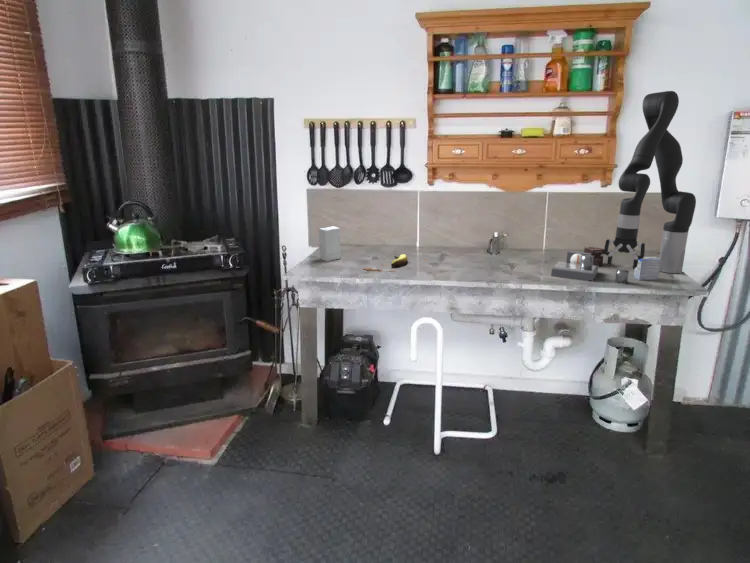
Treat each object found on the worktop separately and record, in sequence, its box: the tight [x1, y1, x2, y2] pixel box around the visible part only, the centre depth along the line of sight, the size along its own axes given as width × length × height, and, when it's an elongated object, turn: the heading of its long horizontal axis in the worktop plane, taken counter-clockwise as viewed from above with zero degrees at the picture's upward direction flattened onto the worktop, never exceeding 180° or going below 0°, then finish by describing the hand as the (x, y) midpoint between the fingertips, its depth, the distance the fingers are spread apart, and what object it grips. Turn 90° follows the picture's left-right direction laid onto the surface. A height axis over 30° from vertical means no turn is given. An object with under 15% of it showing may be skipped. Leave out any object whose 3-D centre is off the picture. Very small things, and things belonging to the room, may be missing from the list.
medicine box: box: [633, 256, 661, 281], centre depth 211 cm, size 8×4×9 cm, turn 92°
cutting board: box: [363, 253, 428, 273], centre depth 238 cm, size 35×27×4 cm
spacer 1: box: [580, 255, 593, 269], centre depth 213 cm, size 4×4×5 cm
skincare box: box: [318, 225, 342, 262], centre depth 243 cm, size 8×6×15 cm
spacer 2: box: [614, 268, 630, 284], centre depth 207 cm, size 4×4×5 cm
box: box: [583, 246, 605, 267], centre depth 233 cm, size 6×6×7 cm
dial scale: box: [550, 250, 599, 282], centre depth 217 cm, size 16×14×8 cm
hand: (621, 267), depth 206 cm, fingers open, 8 cm apart
